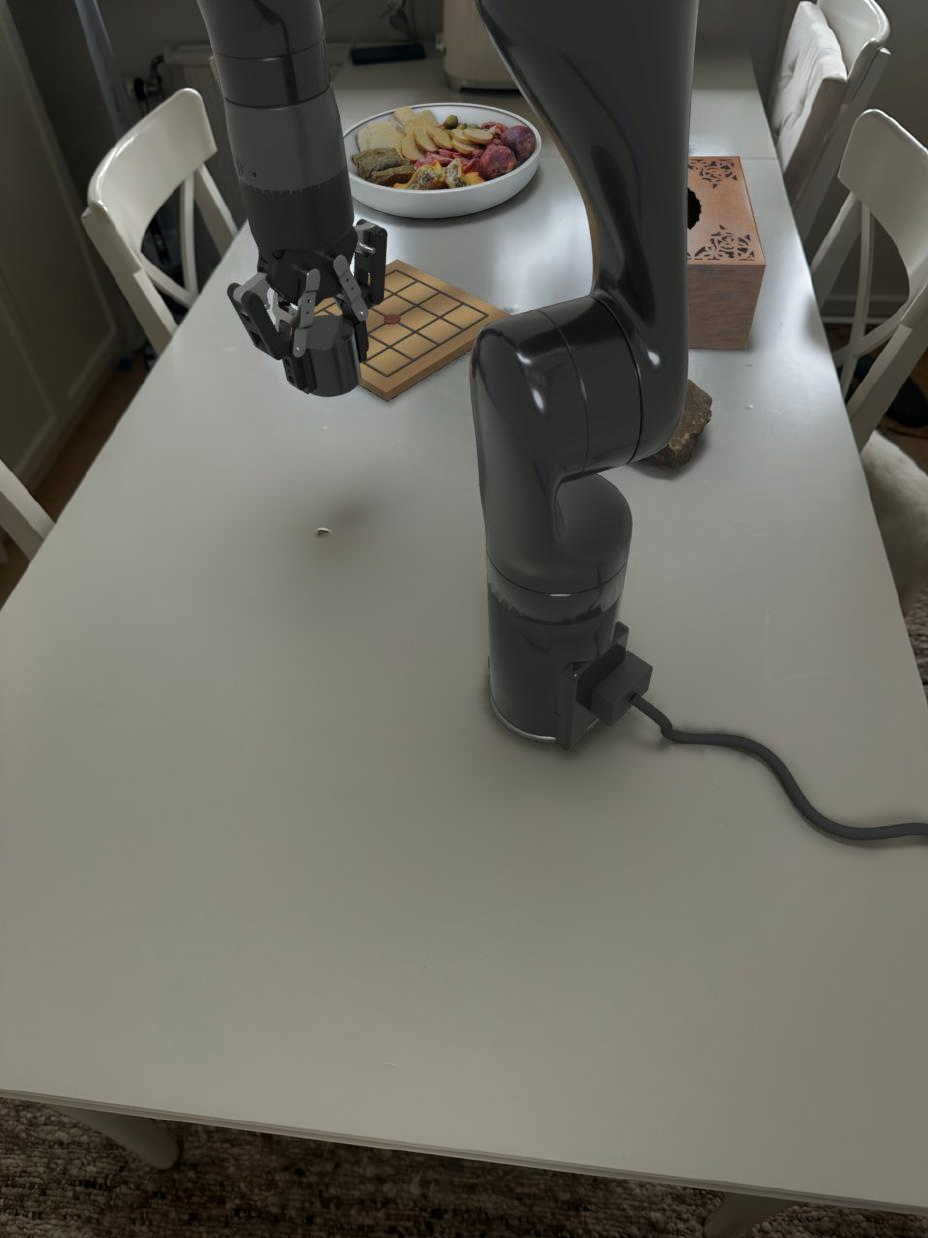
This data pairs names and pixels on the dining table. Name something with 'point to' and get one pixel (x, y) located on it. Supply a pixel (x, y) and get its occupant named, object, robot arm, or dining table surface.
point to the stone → (685, 430)
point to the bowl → (440, 159)
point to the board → (415, 328)
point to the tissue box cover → (721, 254)
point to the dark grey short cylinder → (333, 355)
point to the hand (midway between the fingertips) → (331, 372)
